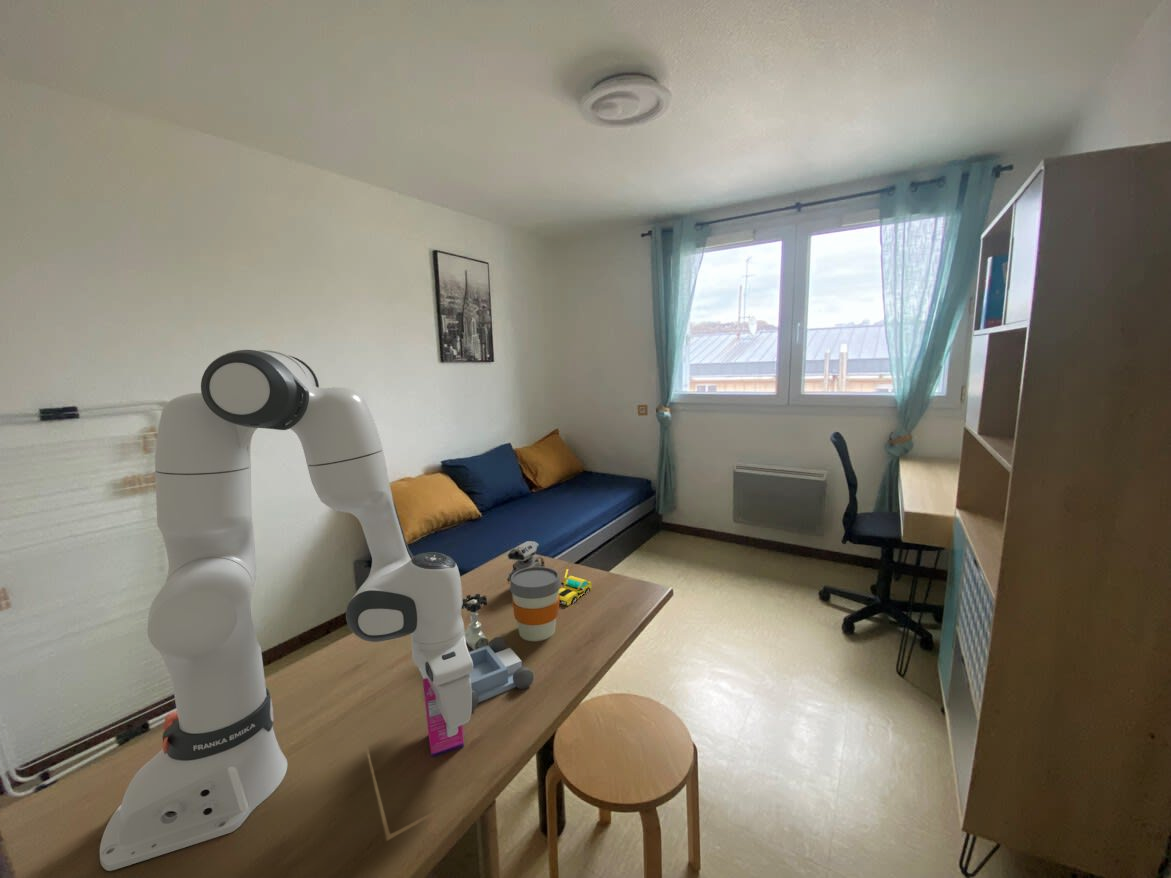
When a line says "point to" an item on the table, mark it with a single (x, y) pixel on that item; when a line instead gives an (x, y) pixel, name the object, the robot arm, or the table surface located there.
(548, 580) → the reusable coffee cup
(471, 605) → the valve
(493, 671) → the chassis
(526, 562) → the figurine
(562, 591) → the toy car
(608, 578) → the table surface
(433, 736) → the supplement box
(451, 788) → the table surface
